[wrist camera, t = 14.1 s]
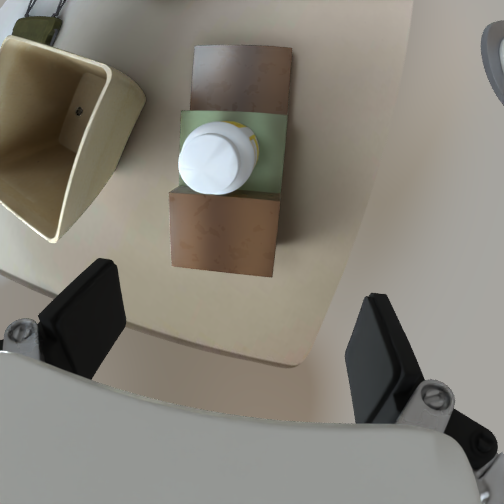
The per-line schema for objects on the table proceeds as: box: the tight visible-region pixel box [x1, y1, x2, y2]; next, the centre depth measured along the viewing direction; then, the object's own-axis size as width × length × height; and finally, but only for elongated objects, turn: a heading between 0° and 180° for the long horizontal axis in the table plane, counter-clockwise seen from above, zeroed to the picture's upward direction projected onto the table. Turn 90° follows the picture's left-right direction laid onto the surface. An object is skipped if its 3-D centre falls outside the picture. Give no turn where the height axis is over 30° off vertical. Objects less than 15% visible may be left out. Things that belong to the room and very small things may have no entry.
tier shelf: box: [169, 45, 292, 277], centre depth 33 cm, size 12×27×9 cm, turn 176°
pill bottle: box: [178, 121, 260, 195], centre depth 26 cm, size 6×6×12 cm
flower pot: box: [0, 35, 146, 243], centre depth 29 cm, size 19×19×17 cm
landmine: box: [12, 0, 66, 46], centre depth 27 cm, size 14×3×15 cm
